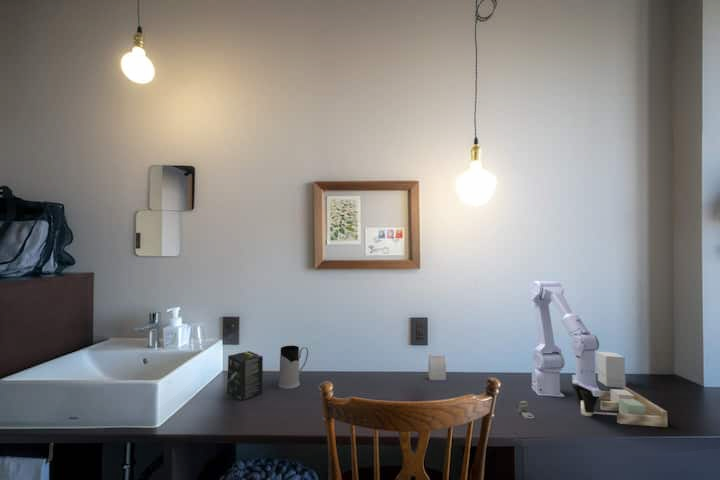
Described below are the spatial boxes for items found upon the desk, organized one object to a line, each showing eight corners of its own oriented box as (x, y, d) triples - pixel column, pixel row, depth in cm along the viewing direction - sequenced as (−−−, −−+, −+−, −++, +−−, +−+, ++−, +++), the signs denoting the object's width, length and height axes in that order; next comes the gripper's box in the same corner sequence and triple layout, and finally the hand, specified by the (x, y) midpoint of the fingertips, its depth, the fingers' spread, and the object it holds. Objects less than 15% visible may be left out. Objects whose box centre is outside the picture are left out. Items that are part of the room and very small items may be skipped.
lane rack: (618, 423, 108) (618, 408, 108) (586, 397, 127) (586, 384, 128) (667, 427, 106) (667, 411, 106) (626, 400, 125) (626, 387, 126)
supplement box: (626, 388, 137) (625, 357, 138) (606, 386, 139) (605, 356, 139) (616, 381, 144) (615, 352, 145) (597, 380, 146) (596, 351, 146)
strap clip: (535, 420, 110) (535, 407, 111) (526, 420, 110) (526, 407, 110) (521, 408, 119) (521, 396, 119) (513, 408, 119) (513, 396, 119)
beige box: (445, 380, 144) (445, 357, 145) (430, 380, 144) (430, 356, 145) (443, 377, 148) (443, 354, 149) (428, 377, 148) (428, 354, 149)
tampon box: (263, 394, 128) (263, 355, 129) (240, 401, 121) (241, 361, 122) (248, 386, 136) (249, 350, 136) (226, 393, 129) (227, 354, 130)
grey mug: (273, 384, 138) (274, 348, 138) (300, 375, 148) (301, 341, 149) (287, 390, 132) (287, 352, 133) (314, 380, 143) (314, 345, 143)
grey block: (619, 408, 119) (618, 394, 119) (610, 402, 124) (610, 389, 124) (634, 409, 118) (634, 395, 118) (625, 403, 123) (625, 389, 123)
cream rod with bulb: (585, 417, 112) (584, 401, 112) (577, 410, 116) (577, 395, 117) (645, 421, 109) (644, 405, 109) (635, 414, 114) (634, 399, 114)
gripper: (563, 361, 122) (563, 399, 122) (583, 375, 108) (584, 418, 107) (583, 362, 121) (584, 401, 121) (607, 377, 107) (608, 420, 106)
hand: (586, 409), depth 114 cm, fingers closed on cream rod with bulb, 3 cm apart
